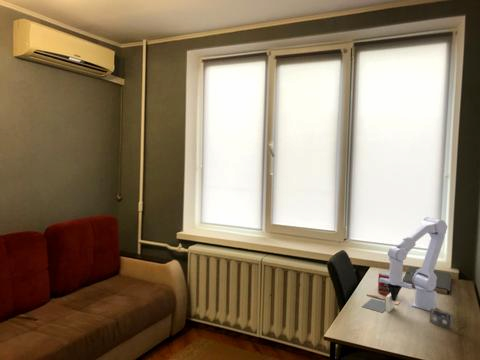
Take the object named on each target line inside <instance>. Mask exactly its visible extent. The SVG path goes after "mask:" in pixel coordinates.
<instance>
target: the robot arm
mask: <svg viewBox="0 0 480 360" xmlns="http://www.w3.org/2000/svg"><path fill="white" fill-rule="evenodd" d="M447 229H448V225H447V222H446V221H445V220H443V219H436V218H433V217H430V216H426V217H424V218H423V219H422V220H421V221H420V225H419V226H418V227H417V228H416V229H415V230H414V231H413V233H412V234H411V235H410V236H405V237H403V238H402V240H401V241H400V242H398V243H397V244H396V245H395V246H391V247H390V248H389V249H388V252H387V256H388V257H389V258H388V259H389V279H387V278H379V277H378V278H379V282H381V283H387V284H389V286H388V288H389V290H390V293H391V296H392V300H393V301H396V300H397V298H398V295H399V293H400V291H401V289H402V288H404V289H408V290H412V289H413V288H412V284H408V283H405V282H403V271H404V270H403V267H404V261H405V260H406V259H407V257H408V254H409V252H410V251H411V250H412V249H414V248H415V246H416V242H417V241H419V240H420V239H421V238H422V237H424V236H425V235H426V234H428V235H429V237H430V240H429V244H428V246H427V249H426V250H427V251H426V253H425V256H424V258H423V262H422V265H421V267H419V268H420V269H418V270H417V271H416V273H415V274H414V276H413V278H412V281H413V283H414V284H415V287H416V288H415V293H414V302H413V303H412V305H411V306H412V307H415V308H418V309H421V310H425V311H429V312H430V309H434V310H436V308H437V301H438V300H437V299H438V297H437V296H438V292H435V291H433V290H434V289H435V287H436V280H437V276H436V275H435V274H434V271H435V269H436V265H437V262H438V259H439V256H440V253H441V249H442V247H443V243H444V241H445V235H446V233H447ZM425 275H427V276H428V277H427V276H425Z"/></svg>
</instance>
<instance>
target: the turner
mask: <svg viewBox="0 0 480 360" xmlns="http://www.w3.org/2000/svg"><path fill="white" fill-rule="evenodd" d="M366 296H367V297H371V298H373V299H377V300H380V301H384V302H386V297H382V296H378V295H375V294H371V293H366ZM400 303H401V301H400V300H397V299H396V301H394V306H397V305H399V304H400Z"/></svg>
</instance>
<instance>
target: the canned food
mask: <svg viewBox="0 0 480 360" xmlns="http://www.w3.org/2000/svg"><path fill="white" fill-rule="evenodd" d="M389 272H390V270H388V271H387V270H380V271H378V279H377V280H378V281H377V292H378V293H379V294H380V295H383V296H387V295H388V294H389V293H390V290H389V288H388V286H389V284H387V283H381V282H379V278H387V279H389Z"/></svg>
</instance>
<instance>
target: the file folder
mask: <svg viewBox="0 0 480 360" xmlns="http://www.w3.org/2000/svg"><path fill="white" fill-rule="evenodd" d="M420 268H421V267H414V266H408V268H407V270H406V272H405V275H404V276H403V277H402V282H405V283H408V284H412V287H413V288H412V289H416V287H415V284H414V283H413V281H412V278H413V276H414V274H415V273H416V271H417V270H418V269H420ZM434 274H435V275H436V276H437V280H436V287H435V289H434V290H433V291H435V292H437V293H438V294H439V293H440V294H445V295H449V294H450V293H451V292H450V291H451V283H452V275H451V273H449V272H444V271H438V270H434ZM425 276H427V275H425ZM427 277H428V276H427Z"/></svg>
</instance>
